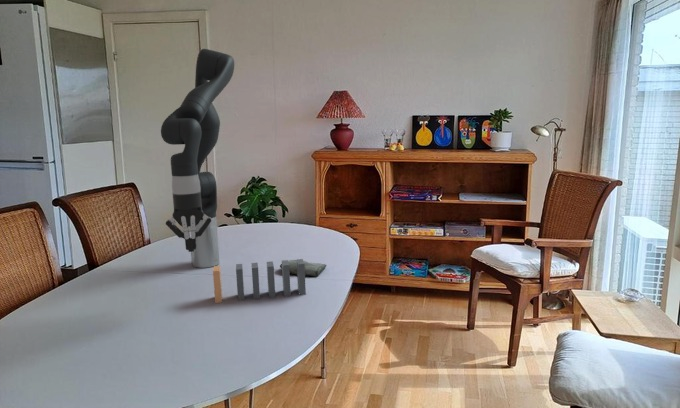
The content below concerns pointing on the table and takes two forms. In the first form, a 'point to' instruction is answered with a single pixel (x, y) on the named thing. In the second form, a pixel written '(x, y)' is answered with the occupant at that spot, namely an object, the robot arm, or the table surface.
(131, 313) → the table surface
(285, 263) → the domino
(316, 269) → the stone
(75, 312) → the table surface
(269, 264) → the domino
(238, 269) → the domino
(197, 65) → the robot arm
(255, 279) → the domino
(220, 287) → the domino
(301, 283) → the domino
